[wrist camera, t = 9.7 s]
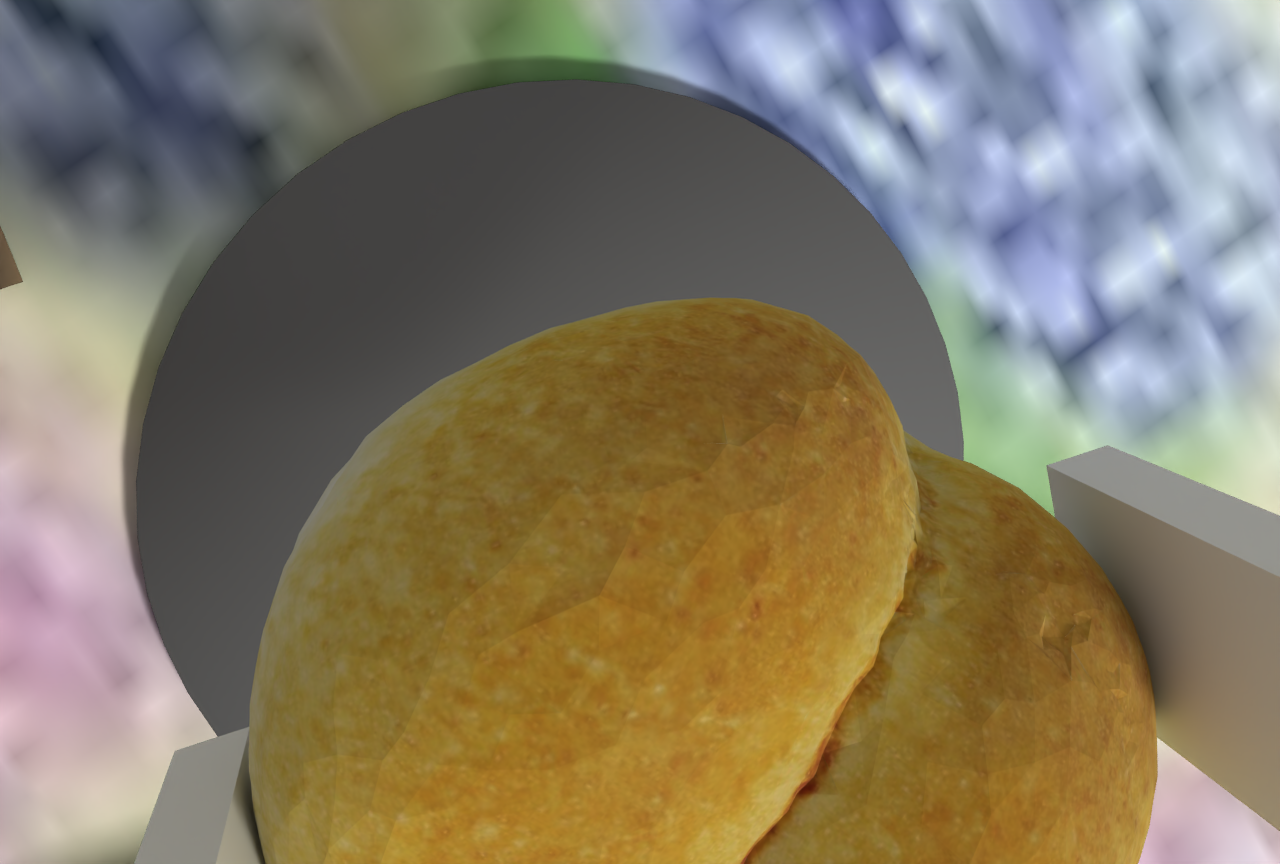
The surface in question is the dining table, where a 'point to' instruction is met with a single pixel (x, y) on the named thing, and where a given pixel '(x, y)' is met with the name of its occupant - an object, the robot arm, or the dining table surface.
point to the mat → (473, 312)
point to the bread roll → (690, 626)
